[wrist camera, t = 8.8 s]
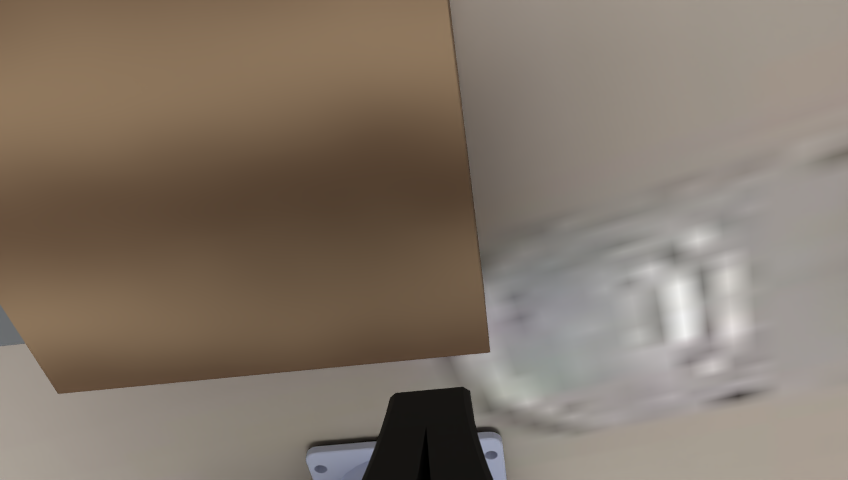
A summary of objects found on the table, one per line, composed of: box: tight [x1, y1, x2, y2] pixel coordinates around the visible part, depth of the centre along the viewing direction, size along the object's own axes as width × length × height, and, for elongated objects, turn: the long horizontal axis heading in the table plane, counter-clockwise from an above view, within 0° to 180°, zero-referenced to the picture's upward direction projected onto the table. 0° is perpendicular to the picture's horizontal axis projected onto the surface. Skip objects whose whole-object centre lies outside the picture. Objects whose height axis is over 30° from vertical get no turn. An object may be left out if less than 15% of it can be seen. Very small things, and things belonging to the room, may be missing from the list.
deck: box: [0, 0, 490, 394], centre depth 19 cm, size 12×14×3 cm
